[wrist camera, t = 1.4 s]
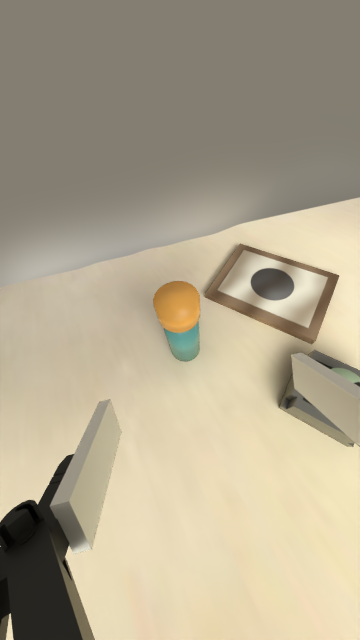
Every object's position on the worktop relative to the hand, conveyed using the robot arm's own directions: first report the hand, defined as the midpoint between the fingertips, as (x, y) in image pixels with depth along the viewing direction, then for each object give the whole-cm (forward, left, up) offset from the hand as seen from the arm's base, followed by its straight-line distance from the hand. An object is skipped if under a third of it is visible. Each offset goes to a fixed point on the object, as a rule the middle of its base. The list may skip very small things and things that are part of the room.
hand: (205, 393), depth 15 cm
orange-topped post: (-7, +7, -15) cm, 18 cm away
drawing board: (0, +24, -15) cm, 28 cm away
